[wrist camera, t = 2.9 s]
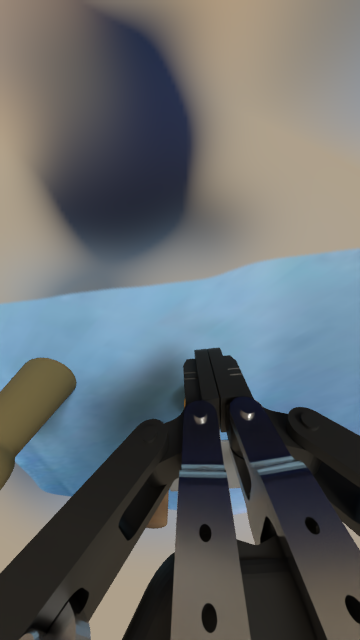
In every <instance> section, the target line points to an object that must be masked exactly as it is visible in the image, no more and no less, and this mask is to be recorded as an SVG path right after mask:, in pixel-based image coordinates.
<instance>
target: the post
mask: <svg viewBox="0 0 360 640" xmlns="http://www.w3.org/2000/svg"><path fill="white" fill-rule="evenodd" d="M168 492H169V490H168ZM168 492H167V493H166V495H165V497H164V498H163V500H162V502H161V503H160V505H159V507H158V508H157V510H156V512H155V513H154V515H153V516H152V518H151V520H150V521H149V523H148V525H147V526H146V527H147V528H162V527H164V526H166V525H167V516H168Z"/></svg>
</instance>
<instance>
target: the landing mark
mask: <svg viewBox="0 0 360 640" xmlns="http://www.w3.org/2000/svg"><path fill="white" fill-rule="evenodd" d="M221 446H222V454H223V461H224V467H225V470H226V473H227V479H228V485H229V488H241V487H240V483H239V480H238V477H237V474H236V471H235V467H234V464H233V461H232V458H231V455H230V451H229V440H221ZM178 482H179V478H177V479H176V480H174V482H173V483H172V485H171V487H170V490H171V491H178Z"/></svg>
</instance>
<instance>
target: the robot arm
mask: <svg viewBox="0 0 360 640" xmlns="http://www.w3.org/2000/svg"><path fill="white" fill-rule="evenodd" d="M194 352H195V359H187V360H186V362H185V364H184V366H183V368H184V387H185V408H184V410H183V412H182V413H181V415H180V416H178V417H177V418H176V419H174V420H172V421H169V422H167V423H165V424H164V423H163V422H161V421H160V420H157V419H150V420H146V421H144V422H142V423H141V424H140V425H139V426H138V427H137V428H136V429H135V430H134V431H133V432H132V433H131V434H130V435H129V436H128V437H127V438H126V439H125V440H124V441H123V443H122V444H121V445H120V446H119V447H118V448H117V449H116V450H115V451H114V452H113V453H112V454H111V455H110V456H109V458H108V459H107V460H106V461H105V462H104V463H103V464H102V465H101V466H100V467H99V468H98V469H97V470H96V471H95V473H94V474H93V475H92V476H91V477H90V478H89V479H88V480H87V481H86V482H85V483H84V484H83V485H82V486H81V488H80V489H79V490H78V491H77V492H76V493H75V494H74V495H73V496H72V497H71V498H70V499H69V500H68V501H67V503H66V504H65V505H64V506H63V507H62V508H61V509H60V510H59V511H58V512H57V513H56V514H55V515H54V517H53V518H52V519H51V520H50V521H49V522H48V523H47V524H46V525H45V526H44V527H43V528H42V529H41V531H39V533H38V534H37V535H36V536H35V537H34V538H33V539H32V540H31V541H30V542H29V543H28V544H27V545H26V546H25V548H24V549H23V550H22V551H21V552H20V553H19V554H18V555H17V556H16V557H15V558H14V559H13V560H12V561H11V563H10V564H9V565H8V566H7V567H6V568H5V569H4V570H3V571H2V572H1V573H0V640H91V639H90V627H89V623H88V622H89V620H90V618H91V617H92V615H93V613H94V612H95V610H96V608H97V607H98V605H99V604H100V602H101V600H102V599H103V597H104V595H105V594H106V592H107V590H108V589H109V587H110V585H111V584H112V582H113V581H114V579H115V577H116V576H117V574H118V572H119V571H120V569H121V567H122V566H123V564H124V562H125V561H126V559H127V558H128V556H129V554H130V553H131V551H132V549H133V548H134V546H135V544H136V543H137V541H138V539H139V538H140V536H141V534H142V533H143V531H144V530H145V528H146V526H147V525H148V523H149V521H150V520H151V518H152V516H153V515H154V513H155V512H156V510H157V508H158V507H159V505H160V503H161V502H162V500H163V498H164V497H165V495H166V493H167V492H168V490H169V489H170V487H171V485H172V483H173V482H174V480H176V479H177V478H179V482H178V502H177V522H176V542H175V552H174V553H173V554H171V555H170V556H169V557H168V558H167V559H166V560H165V561H164V562H163V564H162V565H161V566H160V567H159V569H158V570H157V571H156V573H155V575H154V576H153V578H152V579H151V581H150V583H149V584H148V587H147V589H146V590H145V592H144V595H143V597H142V599H141V601H140V603H139V605H138V607H137V609H136V612H135V613H134V616H133V618H132V620H131V622H130V624H129V626H128V628H127V630H126V632H125V634H124V637H123V638H122V640H360V550H359V548H358V547H357V545H356V543H355V542H354V540H353V539H352V537H351V536H350V534H349V532H348V531H347V529H346V527H345V526H344V524H343V523H345V524H346V525H347V526H348V527H349V528H350V529H352V530H353V531H354V532H355V533H356V534H357V535H359V536H360V436H359V435H357V434H355V433H354V432H352V431H350V430H348V429H346V428H345V427H343V426H341V425H339V424H337V423H336V422H334V421H332V420H330V419H328V418H327V417H325V416H323V415H321V414H319V413H318V412H316V411H314V410H311V409H308V408H304V407H296V408H293V409H292V410H291V411H290V412H289V414H285V413H280V412H275V411H271V410H268V409H266V408H264V407H262V405H261V404H260V403H259V402H258V401H256V400H254V398H253V396H252V394H251V392H250V390H249V388H248V386H247V383H246V381H245V379H244V377H243V375H242V373H241V370H240V369H239V366H238V364H237V362H236V360H235V359H233V358H232V357H231V356H230V355H228V356H223V355H222V352H221V349H220V348H211V349H201V350H194ZM220 430H221V432H227V436H228V440H229V451H230V455H231V458H232V461H233V464H234V467H235V471H236V474H237V477H238V480H239V483H240V487H241V490H242V493H243V496H244V500H245V503H246V507H247V513H248V519H249V524H250V528H251V531H252V535H253V538H254V541H255V545H252V544H249V543H246V542H243V541H240V540H237V539H236V533H235V526H234V519H233V512H232V506H231V499H230V492H229V485H228V479H227V473H226V470H225V467H224V461H223V454H222V446H221V439H220ZM342 522H343V523H342Z"/></svg>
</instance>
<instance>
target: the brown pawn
mask: <svg viewBox="0 0 360 640" xmlns="http://www.w3.org/2000/svg"><path fill="white" fill-rule="evenodd" d="M75 387H76V379H75V376H74V374H73V373H72V371H71V370H70V369H69V368H67V367H66V366H65V365H64V364H62V363H60V362H58V361H56V360H52V359H49V358H35V359H31V360H30V361H28V362H27V363H25V364H24V365H23V367H22V368H21V369H20V370H19V371H18V372H17V373H16V375H15V376H14V377H13V378H12V379H11V380H10V381H9V383H8V384H7V385H6V386H5V387H4V388H3V390H2V391H1V392H0V490H1V489H2V487H3V486H4V485H5V483H6V482H7V480H8V479H9V477H10V475H11V473H12V471H13V469H14V464H15V457H16V455H17V454H18V453H19V452H20V451H21V450H22V449H23V447H24V446H25V445H26V444H27V443H28V442H29V441H30V440H31V438H32V437H33V436H34V435H35V434H36V433H37V432H38V430H39V429H40V428H41V427H42V426H43V425H44V424H45V422H46V421H47V420H48V419H49V418H50V417H51V416H52V415H53V413H54V412H55V411H56V410H57V409H58V408H59V407H60V405H61V404H62V403H63V402H64V401H65V400H66V399H67V397H68V396H69V395H70V394H71V393H72V392H73V390H74V389H75Z"/></svg>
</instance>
